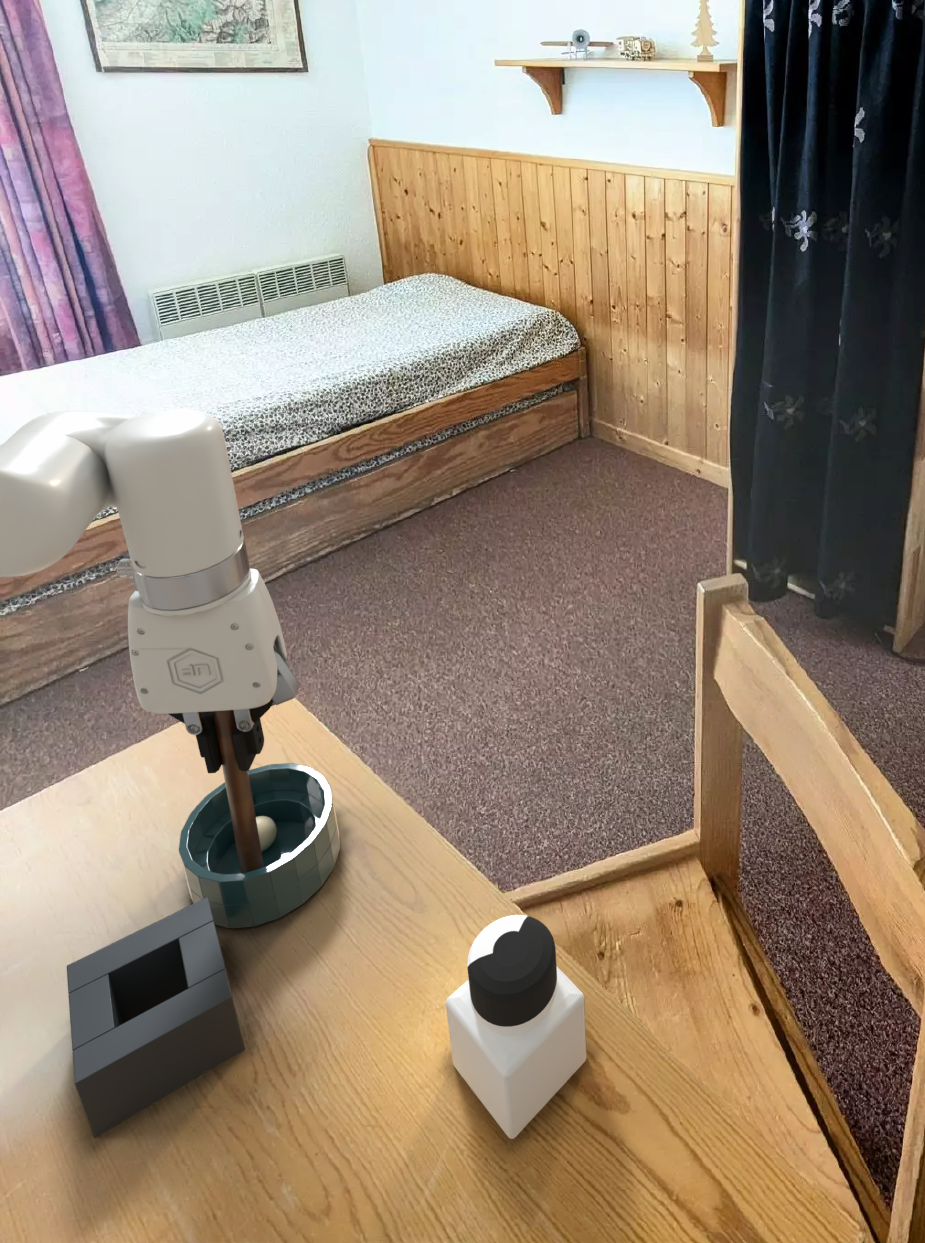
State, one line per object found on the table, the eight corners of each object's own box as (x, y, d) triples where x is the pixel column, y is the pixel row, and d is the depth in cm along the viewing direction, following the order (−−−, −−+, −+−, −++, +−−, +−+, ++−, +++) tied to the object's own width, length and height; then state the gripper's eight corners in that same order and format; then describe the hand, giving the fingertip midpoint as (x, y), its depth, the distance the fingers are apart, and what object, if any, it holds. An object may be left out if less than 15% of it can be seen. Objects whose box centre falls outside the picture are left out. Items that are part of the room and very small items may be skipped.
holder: (84, 1019, 66) (66, 965, 64) (220, 948, 71) (207, 896, 69) (95, 1141, 59) (74, 1084, 57) (245, 1051, 64) (232, 996, 62)
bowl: (166, 938, 72) (152, 886, 70) (224, 814, 84) (213, 767, 82) (318, 927, 73) (308, 876, 71) (355, 806, 85) (347, 759, 82)
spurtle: (240, 891, 74) (209, 712, 69) (245, 874, 75) (215, 698, 70) (263, 887, 74) (233, 709, 69) (267, 870, 76) (239, 695, 71)
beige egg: (232, 839, 79) (238, 818, 78) (265, 823, 82) (270, 803, 80) (246, 866, 78) (252, 845, 77) (279, 849, 80) (285, 829, 79)
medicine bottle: (588, 1060, 63) (584, 946, 59) (511, 1144, 59) (501, 1026, 54) (527, 992, 68) (519, 881, 64) (451, 1065, 63) (437, 950, 59)
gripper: (56, 605, 61) (113, 802, 67) (285, 595, 62) (320, 789, 69) (110, 548, 68) (157, 731, 74) (315, 539, 69) (344, 720, 76)
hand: (235, 757), depth 71 cm, fingers closed on spurtle, 1 cm apart
